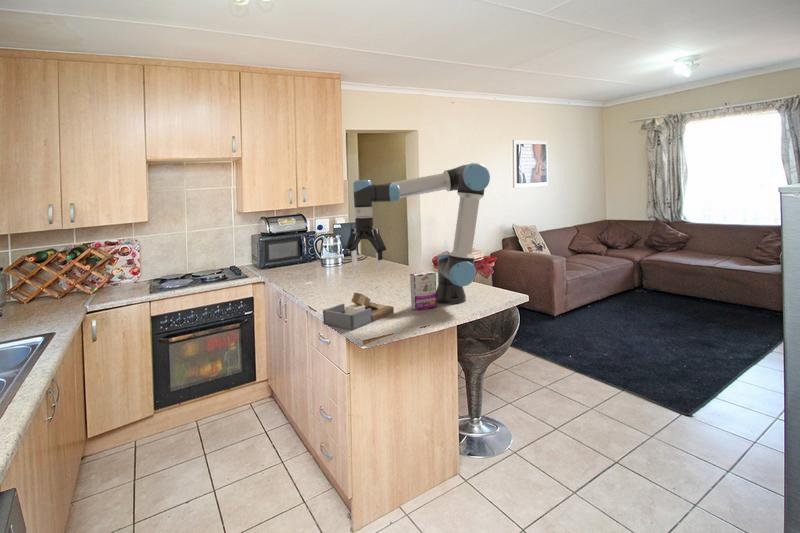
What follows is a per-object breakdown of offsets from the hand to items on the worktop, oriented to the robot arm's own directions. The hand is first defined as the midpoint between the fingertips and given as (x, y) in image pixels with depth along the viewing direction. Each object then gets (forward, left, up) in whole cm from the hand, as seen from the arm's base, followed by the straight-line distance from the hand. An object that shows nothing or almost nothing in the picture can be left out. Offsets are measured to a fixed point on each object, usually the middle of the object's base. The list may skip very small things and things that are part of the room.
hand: (366, 266), depth 187 cm
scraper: (0, -2, -18) cm, 18 cm away
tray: (0, +14, -22) cm, 26 cm away
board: (0, 0, -22) cm, 22 cm away
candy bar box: (-15, -22, -22) cm, 34 cm away
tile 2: (0, +9, -19) cm, 21 cm away
